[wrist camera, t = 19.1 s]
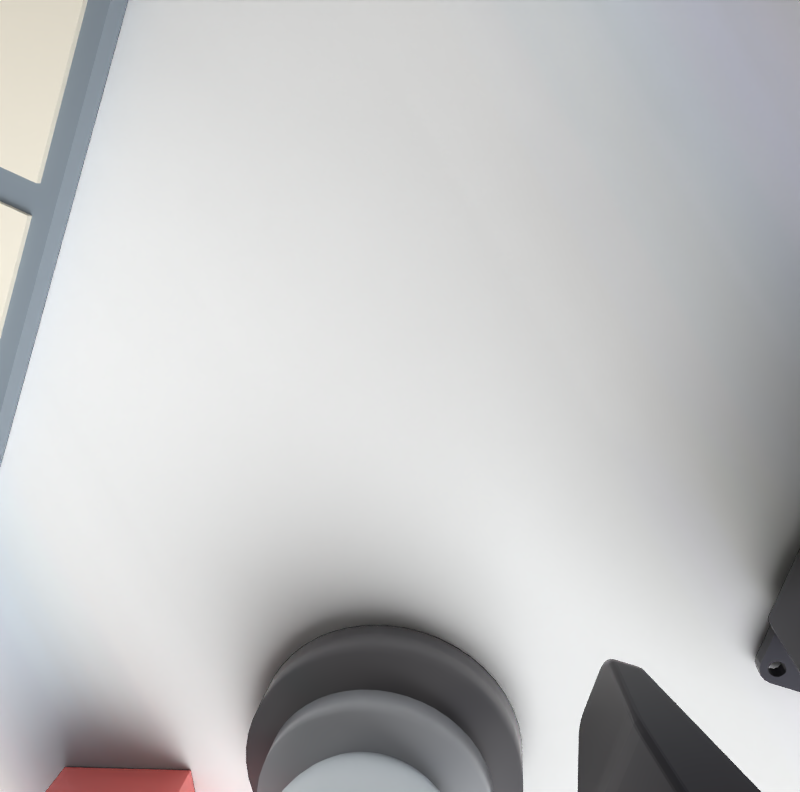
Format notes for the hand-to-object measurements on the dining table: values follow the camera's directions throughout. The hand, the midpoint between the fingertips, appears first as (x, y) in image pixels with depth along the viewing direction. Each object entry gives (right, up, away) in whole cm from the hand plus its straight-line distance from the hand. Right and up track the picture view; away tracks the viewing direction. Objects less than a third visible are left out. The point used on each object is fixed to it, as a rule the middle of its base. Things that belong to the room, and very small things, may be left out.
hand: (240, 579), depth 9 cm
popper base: (+2, -10, +16) cm, 19 cm away
